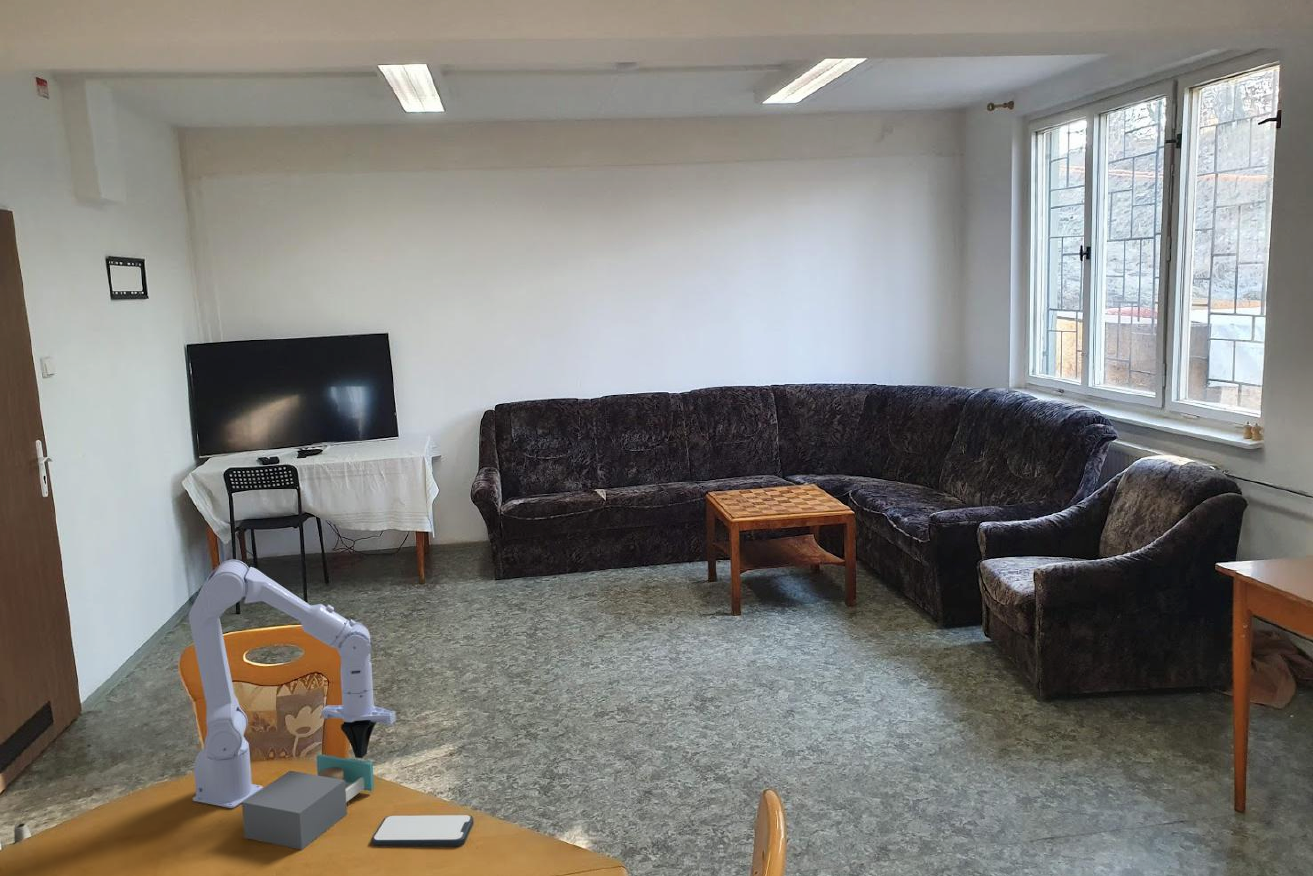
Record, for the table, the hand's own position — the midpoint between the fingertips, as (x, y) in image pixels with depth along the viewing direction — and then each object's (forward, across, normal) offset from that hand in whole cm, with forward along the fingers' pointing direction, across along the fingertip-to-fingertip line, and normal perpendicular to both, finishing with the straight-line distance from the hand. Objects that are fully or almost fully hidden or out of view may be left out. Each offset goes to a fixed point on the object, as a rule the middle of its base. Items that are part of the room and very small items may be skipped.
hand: (361, 755), depth 187 cm
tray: (+4, -1, -10) cm, 11 cm away
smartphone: (+5, +21, -16) cm, 27 cm away
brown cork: (+3, -1, -9) cm, 9 cm away
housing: (+4, -2, -19) cm, 19 cm away
